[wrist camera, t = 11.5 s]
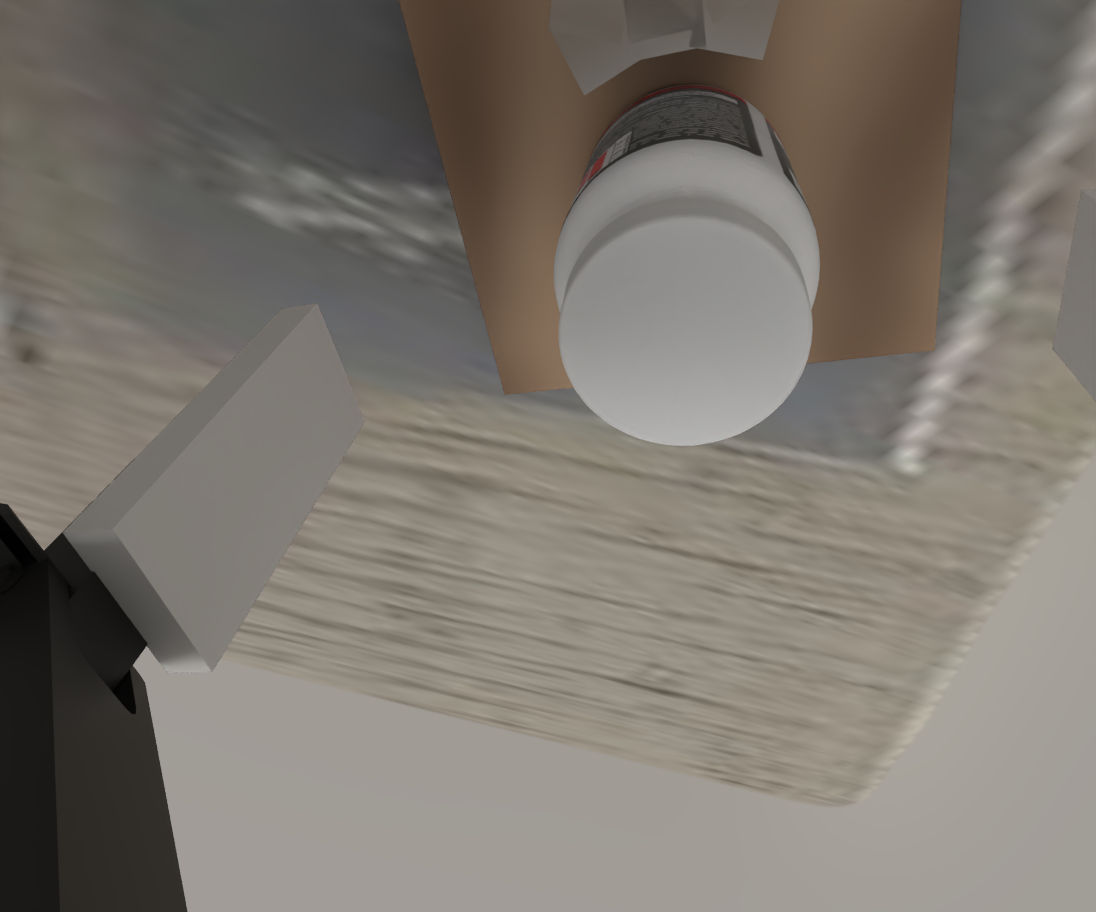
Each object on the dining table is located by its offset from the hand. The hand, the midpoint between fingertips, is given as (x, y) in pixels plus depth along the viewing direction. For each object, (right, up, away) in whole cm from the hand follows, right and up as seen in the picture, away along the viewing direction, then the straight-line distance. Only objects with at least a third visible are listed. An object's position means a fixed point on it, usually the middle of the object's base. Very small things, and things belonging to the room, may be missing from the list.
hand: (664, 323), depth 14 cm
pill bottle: (+2, +5, +8) cm, 10 cm away
